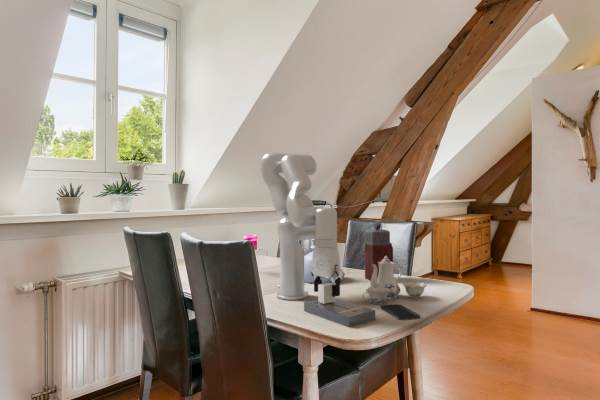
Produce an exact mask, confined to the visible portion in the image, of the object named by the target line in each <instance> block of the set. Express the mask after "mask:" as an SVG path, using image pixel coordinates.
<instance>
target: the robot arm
mask: <svg viewBox="0 0 600 400" xmlns="http://www.w3.org/2000/svg"><path fill="white" fill-rule="evenodd" d="M316 171H317V162H316V159H315V158H314V157H313V156H312V155H310V154H300V153H286V152H270V153H266V154H264V155H263V156H262V158H261V159H260V173H261V176H262V179H263V181H264V183H265V185H266V186H267V188H268V190H269V194H270V197H271V201H272V204H273V208H274V209H275V213H276V214H277V216H279V217H283V218H281V219H280V220H279V221H278V222H277V227H276V229H277V233H278V235H277V237H278V241H279V259H280V260H279V261H280V262H279V266H280V268H279V270H280V271H279V272H280V273H279V276H280V280H279V281H280V282H279V284H277V285H276V287H277V288H278V289H279V291H277V293H276V298H278V299H281V300H285V301H286V300H287V301H288V300H289V301H290V300H291V301H296V300H304V299H306V298H308V297H309V292H308V291H306V290H305V282H304V256H305V251H304V248H303V246H302V245H301V243H300V241H304V240H305V241H306V240H307V241H308V240H314V239H315V247H314V251H313V250H312V251H313V260H312V266H310V270H311V274H312V276H313V280H314V283H313V291H314V292H315V293H317V292H318V285H319V284H322V279H321V277H323V278H330V279H331V281H332V284H333V285H332V297H335V298H336V297H340V295H341V284H342V282H343V281H344V277H345V275H346V273H345V272H344V270H343V269H341V263H340V262H341V261H340V253H339V248H338V212H337V210H336V208H334V207H324V206H314V203H313V200H312V199H311V197H310V196H309V195H307V194H306V193H308V192H309V191H310V190H311V188H312V185H313V184H312V180H311V179H310V177H311V176H313V175H314V174H315V173H316ZM281 174H283V175H284V176H282V175H281ZM334 278H336V280H335V279H334Z"/></svg>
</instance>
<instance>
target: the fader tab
mask: <svg viewBox="0 0 600 400" xmlns="http://www.w3.org/2000/svg"><path fill="white" fill-rule="evenodd" d="M332 285H333V283H324V284H319V285H318V293H317V295H318V296H317V300H318V302H320V303H323V304H325V303H330V302H334V301H335V299H336V297H332Z"/></svg>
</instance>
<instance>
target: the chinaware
mask: <svg viewBox="0 0 600 400" xmlns="http://www.w3.org/2000/svg"><path fill="white" fill-rule="evenodd" d="M384 258H385V259H382V261H381V262H378V265H379V274H378V278H377V266H376V265H375V264H372V265H373V267H374V270H373V274H372V278H371V281H370V286H369V287H368V288H366V289H365V290H366V291H365V292H363V294H362V298H363V300H365V301H369V303H373V304H374V305H383V304H384V303H383V302H384V301H386V300H395V299H398V295H399V294H400V293H401V287H400V286H399V282H400V280H399V279H400V277H401V276H402V273H403V269H402V266H401V265H400V264H399V263H395V262H394V261H393V262H391V261H390V260H389V259H387V258H388V257H387V256H385V257H384ZM396 266H397V267H398V268H399V274H398V276H396V278H395V274H394V269H395V268H396ZM402 285H403V286H404V289H405V292H406V294H407V295H409V296H410V297H411V296H412V298H411V299H413V298H418V297H420V296H422V295H423V293H424V291H425V288H426V287H427V285H426V284H424V282H417V283H416V282H414V281H409V282H407V283H406V282H403V283H402ZM365 294H367V295H368V296H369V298H368V299H366V298H365V296H364V295H365ZM394 298H395V299H394Z"/></svg>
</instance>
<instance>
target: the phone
mask: <svg viewBox="0 0 600 400" xmlns="http://www.w3.org/2000/svg"><path fill="white" fill-rule="evenodd" d="M380 310H383V311H384V312H386V313H388V314H389V315H390V316H392V317H393V318H395V319H397V320H398V321H408V320H409V321H410V320H419V319H421V315H420V314H418V313H416V312H414V311H413V310H411V309H409V308H407V307H406V306H404V305H402V304H398V303H397V304H387V305H383V304H382V305H381V306H380Z"/></svg>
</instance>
